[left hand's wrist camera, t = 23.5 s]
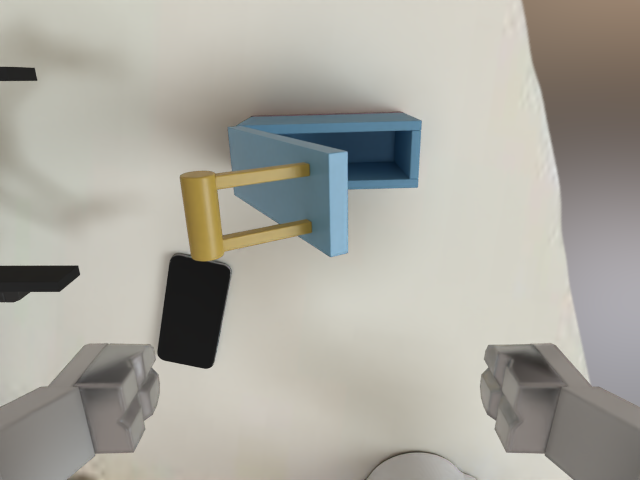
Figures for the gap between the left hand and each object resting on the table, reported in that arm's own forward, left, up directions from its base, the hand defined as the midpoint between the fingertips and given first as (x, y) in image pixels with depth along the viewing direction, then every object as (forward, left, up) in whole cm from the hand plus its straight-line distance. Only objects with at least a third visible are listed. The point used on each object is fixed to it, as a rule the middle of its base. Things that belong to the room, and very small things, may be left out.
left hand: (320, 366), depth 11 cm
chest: (0, -1, -38) cm, 38 cm away
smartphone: (-19, +18, -38) cm, 46 cm away
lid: (0, +3, -21) cm, 21 cm away
